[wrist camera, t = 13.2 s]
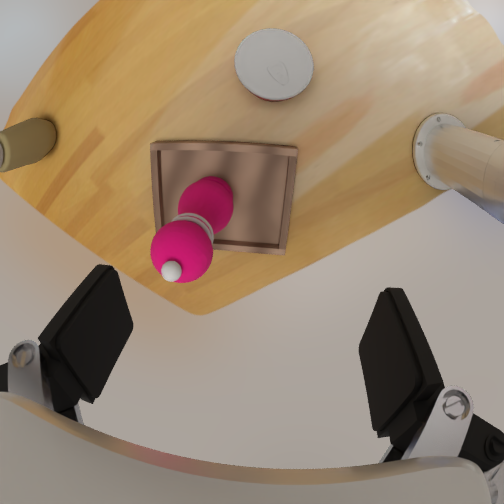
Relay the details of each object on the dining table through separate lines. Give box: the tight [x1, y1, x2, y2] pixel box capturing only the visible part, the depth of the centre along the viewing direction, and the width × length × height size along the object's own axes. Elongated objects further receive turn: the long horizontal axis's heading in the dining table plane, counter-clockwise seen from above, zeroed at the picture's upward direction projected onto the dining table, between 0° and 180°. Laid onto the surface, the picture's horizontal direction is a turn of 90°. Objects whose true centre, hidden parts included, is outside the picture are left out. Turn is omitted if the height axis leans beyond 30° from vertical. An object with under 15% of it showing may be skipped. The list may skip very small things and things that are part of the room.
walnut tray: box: [150, 140, 298, 255], centre depth 39 cm, size 20×16×2 cm
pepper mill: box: [151, 176, 233, 283], centre depth 31 cm, size 7×7×20 cm
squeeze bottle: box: [0, 118, 56, 172], centre depth 27 cm, size 8×8×18 cm
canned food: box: [235, 28, 314, 102], centre depth 26 cm, size 8×8×11 cm
